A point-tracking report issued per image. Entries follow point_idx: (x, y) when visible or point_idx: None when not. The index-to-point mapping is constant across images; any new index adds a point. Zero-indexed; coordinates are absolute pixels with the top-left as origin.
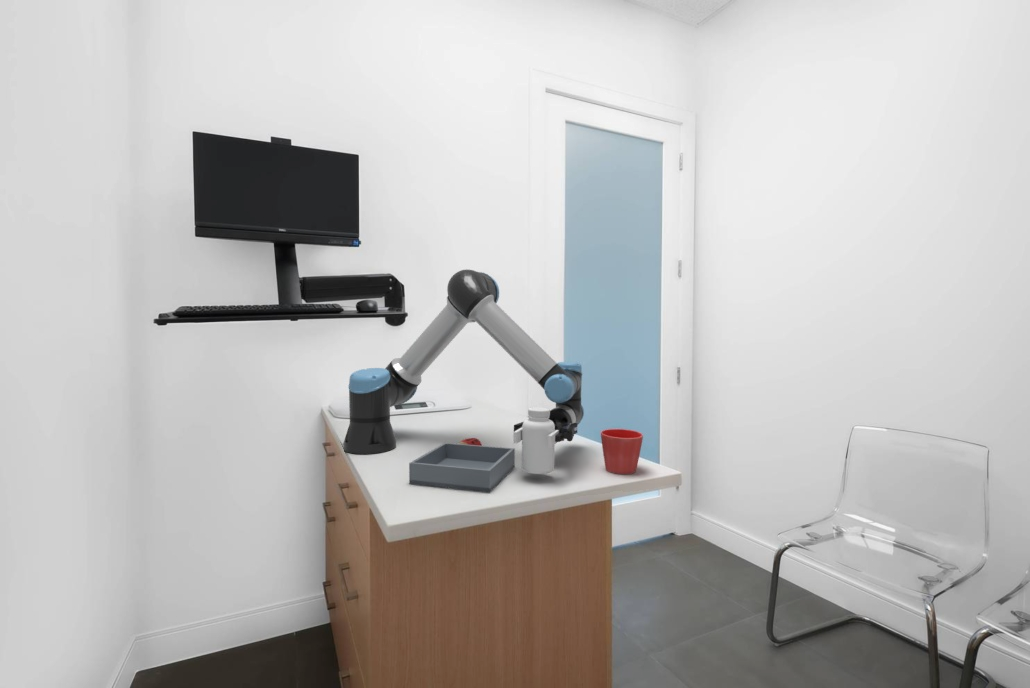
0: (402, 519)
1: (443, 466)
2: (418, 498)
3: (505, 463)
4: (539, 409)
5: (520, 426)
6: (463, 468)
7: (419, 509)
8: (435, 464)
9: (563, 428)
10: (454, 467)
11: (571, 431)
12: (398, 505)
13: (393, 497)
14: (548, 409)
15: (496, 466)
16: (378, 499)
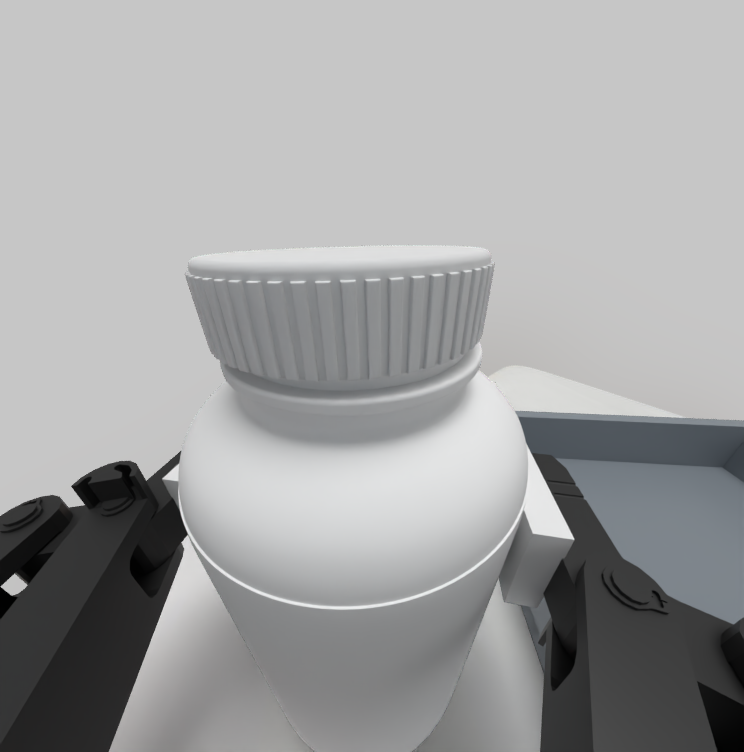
0: (517, 369)
1: (629, 416)
2: (578, 412)
3: None
4: (339, 249)
5: (638, 578)
6: (562, 413)
7: (527, 387)
8: (672, 423)
9: (104, 470)
10: (591, 414)
11: (25, 504)
12: (572, 391)
13: (623, 409)
14: (219, 254)
15: None
16: (632, 401)
